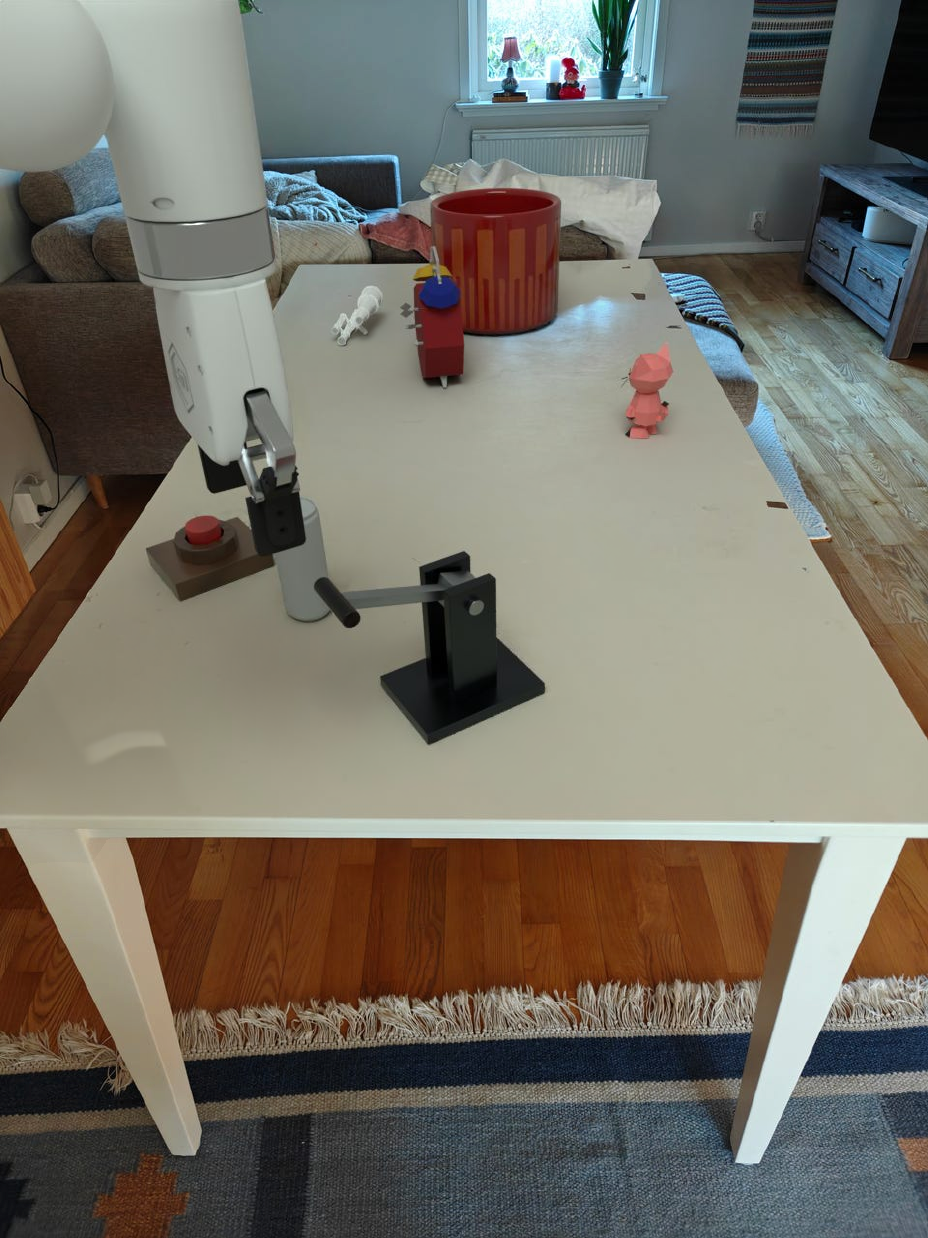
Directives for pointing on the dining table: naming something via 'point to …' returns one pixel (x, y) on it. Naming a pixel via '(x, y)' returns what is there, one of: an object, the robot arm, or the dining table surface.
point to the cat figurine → (648, 392)
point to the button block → (207, 560)
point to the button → (203, 530)
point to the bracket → (460, 660)
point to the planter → (500, 256)
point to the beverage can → (304, 569)
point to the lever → (383, 596)
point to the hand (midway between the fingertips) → (254, 516)
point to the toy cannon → (359, 313)
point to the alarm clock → (437, 322)
